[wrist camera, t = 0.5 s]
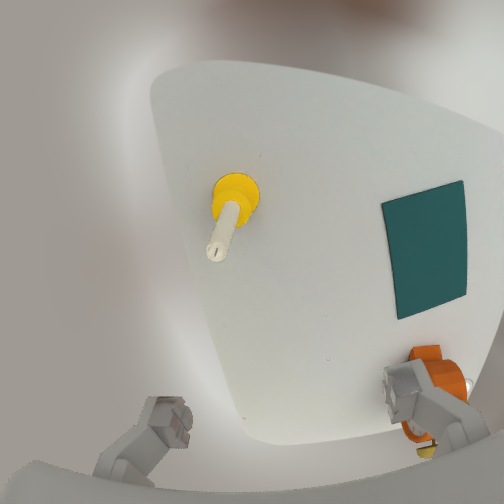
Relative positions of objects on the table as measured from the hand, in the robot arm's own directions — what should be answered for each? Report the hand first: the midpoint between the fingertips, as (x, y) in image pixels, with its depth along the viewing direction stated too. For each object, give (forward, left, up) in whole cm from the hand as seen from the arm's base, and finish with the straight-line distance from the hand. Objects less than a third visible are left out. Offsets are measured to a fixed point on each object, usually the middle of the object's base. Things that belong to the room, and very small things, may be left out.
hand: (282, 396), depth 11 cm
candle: (-2, -4, -27) cm, 27 cm away
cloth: (+13, +18, -27) cm, 35 cm away
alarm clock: (+35, +15, -27) cm, 47 cm away
